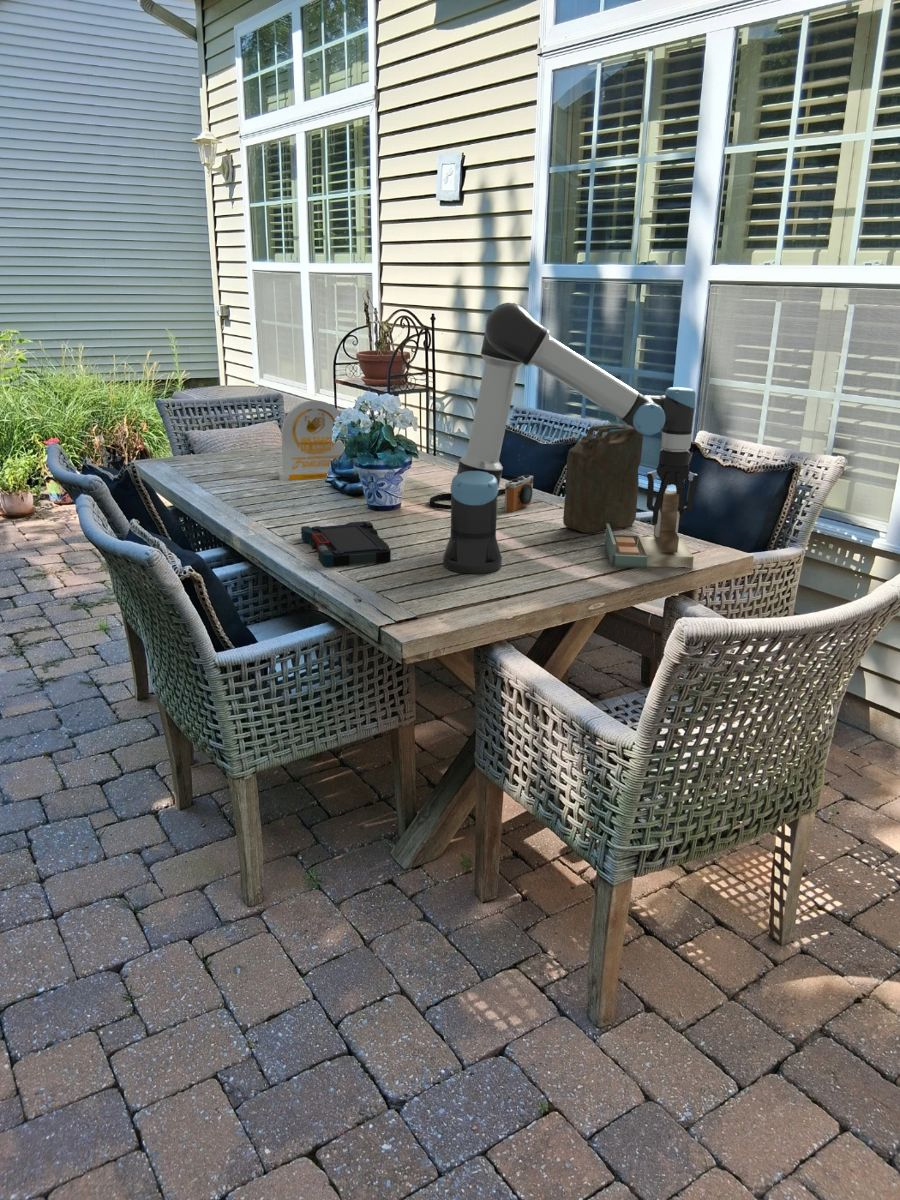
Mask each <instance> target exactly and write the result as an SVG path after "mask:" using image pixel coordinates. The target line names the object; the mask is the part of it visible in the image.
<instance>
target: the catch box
mask: <svg viewBox="0 0 900 1200" xmlns="http://www.w3.org/2000/svg"><path fill="white" fill-rule="evenodd" d="M612 530H613V529H611V527H610V524H606V530H605V536H604V547H605V550H606V553H608V554H607V557H608V560H609V563H610V566H613V567H616V568H617V567H618V568H636V569H637V568H640V569H647V568H648V566H647V556H642V554H641V551H640V549H639V547H638V537H639V535H638V534H618V533H616V534H615V533H613V531H612ZM615 537H628V538H634V540H635V547H637V548H638V550H639V556H635V555H618V551H616V542H615Z"/></svg>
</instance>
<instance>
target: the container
mask: <svg viewBox="0 0 900 1200" xmlns="http://www.w3.org/2000/svg"><path fill="white" fill-rule="evenodd" d="M595 431H597V432H596V434H595V435H594V432H595ZM604 433H606V434H605V435H604V436H603V434H604ZM580 439H581V440H579V441H578V442H576V443H575V445H574V446H573V447H571V448H570V449H569V450H568V453H567V457H566V474H565V485H564V486H565V487H564V489H565V497H564V504H563V517H562V522H563V525H564V526H565V527H567V528H569V529H571V530H575V531H577V532H579V531H580V532H579V533H582V534H583V533H584V534H590V533H596V532H601V531H606V530H605V529H606V524H610V527H611V530H613V529H619V528H621V529H622V528H627V527H630V526H633V524H634V523H635V521H636V518H637V509H638V508H637V507H638V506H637V505H638V496H639V495H638V494H639V485H640V484H639V468H640V465H641V461H642V454H643V451H642V450H643V443H644V442H643V441H644V434H641V433H639V432H638V431H637V430H636V429H635V428H634V427H632V426H630V425H624V424H619V423H618V422H617V423H610V424H602V425H595V426H593V425H592V426H591V427H590V428H588V431H587V433H586V435H585V436H582V437H581V438H580Z"/></svg>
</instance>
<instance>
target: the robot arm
mask: <svg viewBox="0 0 900 1200" xmlns="http://www.w3.org/2000/svg"><path fill="white" fill-rule="evenodd" d="M480 356H481V357H482V359H483V361H484V364H483V365H484V366H483V371H482V376H481V381H480V386H479V390H478V391H479V392H478V397H477V400H476V401H477V402H476V406H475V412H474V415H473V421H472V427H471V432H470V435H469V440H468V441H469V442H468V446H467V451H466V454H465V455H463V456H462V457H460V458H459V462H458V468H457V472H456V475H454V476H453V478H452V479H451V483H450V484H451V485H450V493H451V500H450V505H451V509H450V536H449V539H448V541H447V544H446V547H445V551H444V553H443V557H442V559H443V560H442V561H443V563H442V565H443V567H444V568H445V569H447V570H449V571H451V572H452V571H453V572H455V573H460V574H472V575H473V574H475V575H479V574H488V573H493V572H496V571H498V570H500V569H501V568H502V566H503V565H502V564H503V558H502V557H503V556H502V554H501V551H500V546H499V543H498V539H497V518H498V517H497V516H498V514H497V513H498V497H497V494H498V490H500V489H499V488H500V483H501V479H502V477H501V475H503V474H502V473H503V469H504V467H503V466H502V463H501V462H500V456H501V451H502V447H503V446H502V445H503V442H504V438H505V432H506V428H507V423H508V418H509V414H510V409H511V405H512V400H513V394H514V391H515V390H514V389H515V385H516V380H517V377H518V376H517V375H518V372H519V369H520V368H521V367H523V366H526V367H530V366H535V367H536V368H538V369H540V370H541V371H542V372H544V373H546V374H547V375H549V376H550V377H552V378H554V379H555V380H557V381H559V382H560V383H562V384H564V385H565V386H567V387H568V388H570V389H571V390H572V391H575V392H576V393H578V394H580V395H582V396H583V397H585V398H586V399H588V400H589V401H591V402H592V403H594V404H596V405H597V406H599V407H600V408H602V409H604V410H605V411H606V412H608V413H610V414H612V415H613V416H615V417H616V418H615V419H616V422H617V424H618V423H619V424H624V425H630V426H632V427H634V428H635V429H636V430H637V431H638V432H639V433H641V434H643V436H644V435H645V436H653V435H655V434H657V433H659V432H660V431H661V438H660V447H661V449H660V450H659V456H658V457H659V459H658V466H657V467H656V468H655V470H652V471H647V472H646V473H645V475H646V478H647V491H646V492H647V494H646V496H647V497H646V508H647V510H648V511H651V512H652V520H651V521H652V524H653V525H655V524H656V528H655V536H656V537H659V532H660V523H661V512H660V506H661V503H662V500H663V493H665V491H667V489H668V486H671V485H672V486H675V491H676V492H677V493H678V494H679V503H678V512H677V521H676V530H675V532H676V534H677V535H678V532H679V526H682V525H683V523H684V515H685V513H688V512H689V513H690V512H691V511H692V508H693V503H694V502H693V501H694V495H695V490H696V483H697V482H698V481H699V477H700V476H699V475H698V474H697V473H693V472H691V471H690V469H689V464H690V463H689V462H690V453H691V451H689V450H690V449H691V444H692V436H693V433H692V432H693V426H694V425H693V424H694V420H695V419H694V418H695V417H694V416H695V410H696V395H697V393H696V391H695V390H694V389H692V388H690V387H679V386H676V387H667V388H666V390H665V393H664V394H662V395H649V394H646V395H644V394H642V393H640V392H639V391H637V390H636V389H634V388H632V387H631V386H629V385H628V384H626V383H624V382H623V381H622V380H620V379H618V378H616V377H615V376H613V375H612V374H610V373H608V372H607V371H605V370H604V369H602V368H601V367H600V366H597V365H596V364H594V362H593V363H592V362H591V361H589V360H588V359H586V358H585V357H583V356H582V355H580V354H579V353H577V352H576V351H574V350H572V349H571V348H569V347H568V346H566V345H565V344H563V343H561V342H560V341H559V340H557V339H556V338H553V336H551V333H550V330H549V329H548V328H547V327H545V326H543V325H542V324H540V323H539V322H538V321H537V320H535V319H534V317H532V315H531V314H530V312H529V311H528V310H527V309H526V308H525V307H524V306H523V305H521V304H517V303H515V302H504V303H501V304H499V305H497V306H496V307H494V308H493V309H492V310H491V311H490V313H489V314H488V316H487V319H486V321H485V330H484V336H483V340H482V346H481V351H480ZM657 475H658V477H659V479H660V485H659V490H658V491H657V495H656V498H655V502H653V501H654V490H655V489H654V488H655V486H654V485H655V481H654V480H656V479H657ZM686 478H687V479H688V487H687V493H686V499H685V500H686V502H685V506H684V495H683V482H684V480H686Z"/></svg>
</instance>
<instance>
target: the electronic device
mask: <svg viewBox="0 0 900 1200" xmlns="http://www.w3.org/2000/svg"><path fill="white" fill-rule="evenodd" d="M300 530H301V534H300V535H301V540H302V541H303V542H304V543H305V544H309V546H310V547H311V548H312V550H315V552H317V555H318V556H317V557H318V558H317V560H318V562H319V563H320V564H321V565H322V566H323V567H325V568H335V567H344V566H347V567H348V566H350V565H357V564H368V563H376V564H379V563H388V562H389V563H390V562H391V560H392V557H391V549H390V546H389V544H388V543H387V542H386V541H385V540H384V539H383V538H381V537H380V536H379V532H378V531H377V529H375V527H374V525H373V523H372V522H371V521H369V522H368V521H353V522H348V523H346V524H337V525H325V526H319V525H317V526H312V527H311V526H310V525H306V526H301V527H300Z"/></svg>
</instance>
